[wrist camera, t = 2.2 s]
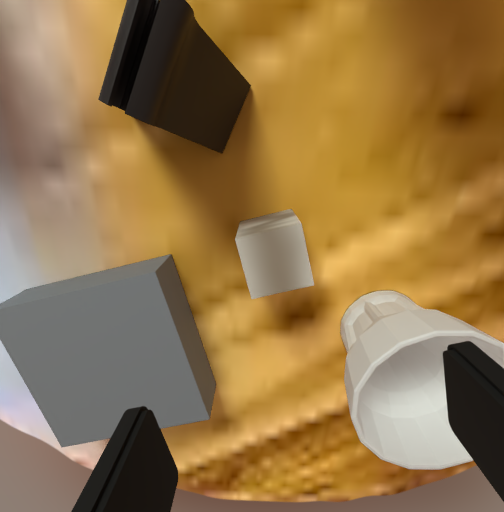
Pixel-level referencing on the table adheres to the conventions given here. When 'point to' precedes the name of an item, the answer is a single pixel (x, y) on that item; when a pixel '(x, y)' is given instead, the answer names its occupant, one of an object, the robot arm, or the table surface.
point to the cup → (404, 378)
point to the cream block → (273, 254)
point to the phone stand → (173, 74)
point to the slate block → (109, 350)
